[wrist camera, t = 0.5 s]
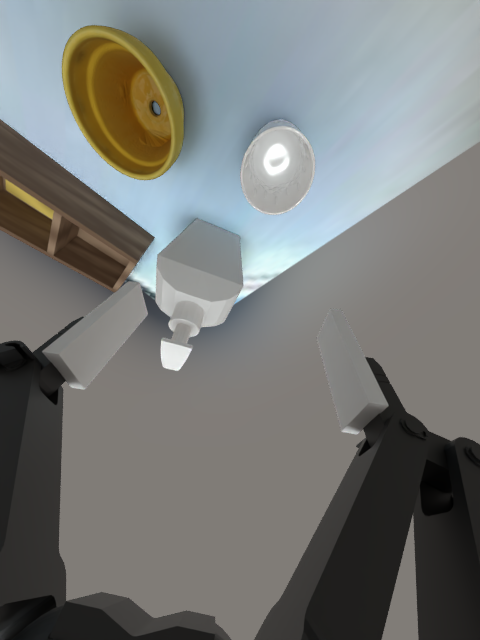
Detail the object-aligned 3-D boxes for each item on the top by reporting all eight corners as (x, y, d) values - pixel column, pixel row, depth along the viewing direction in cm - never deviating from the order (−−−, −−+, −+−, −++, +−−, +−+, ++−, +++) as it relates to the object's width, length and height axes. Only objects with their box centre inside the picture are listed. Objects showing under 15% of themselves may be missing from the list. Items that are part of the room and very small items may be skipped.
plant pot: (172, 175, 31) (146, 201, 25) (103, 103, 25) (50, 113, 19) (215, 111, 25) (195, 125, 19) (137, -2, 19) (75, -35, 13)
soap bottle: (180, 254, 42) (123, 364, 26) (186, 209, 35) (112, 326, 19) (233, 274, 45) (211, 385, 29) (250, 235, 37) (232, 358, 21)
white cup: (236, 153, 28) (225, 176, 22) (281, 91, 23) (284, 99, 17) (272, 197, 32) (271, 228, 26) (317, 152, 27) (329, 177, 21)
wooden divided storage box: (-141, 11, 22) (-262, -5, 17) (154, 237, 40) (137, 261, 35) (-100, 124, 30) (-174, 135, 25) (131, 270, 48) (115, 293, 43)
